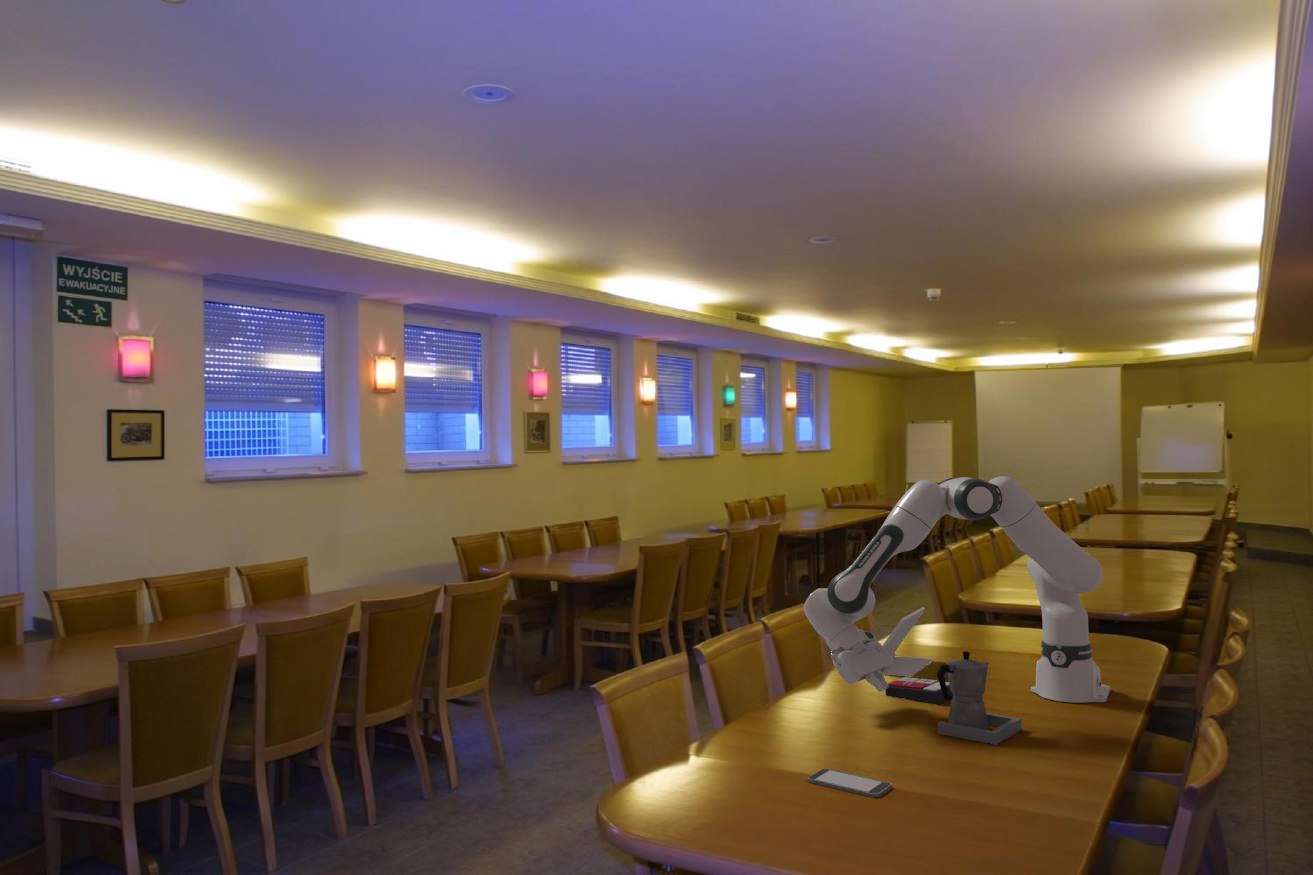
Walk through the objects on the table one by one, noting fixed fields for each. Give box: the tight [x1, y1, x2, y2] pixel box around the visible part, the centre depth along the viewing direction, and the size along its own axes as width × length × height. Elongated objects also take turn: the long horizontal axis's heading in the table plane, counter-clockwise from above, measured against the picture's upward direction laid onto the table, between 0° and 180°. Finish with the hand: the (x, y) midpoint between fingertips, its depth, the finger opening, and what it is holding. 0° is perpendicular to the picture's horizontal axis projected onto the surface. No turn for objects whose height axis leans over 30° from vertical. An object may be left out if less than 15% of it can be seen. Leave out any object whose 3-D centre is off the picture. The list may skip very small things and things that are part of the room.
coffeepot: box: [936, 650, 990, 730], centre depth 211 cm, size 15×9×18 cm, turn 115°
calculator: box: [884, 677, 953, 706], centre depth 241 cm, size 11×4×15 cm
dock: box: [937, 712, 1023, 746], centre depth 209 cm, size 15×14×2 cm
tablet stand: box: [882, 606, 934, 677], centre depth 277 cm, size 18×25×17 cm
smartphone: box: [807, 768, 893, 798], centre depth 176 cm, size 7×1×15 cm
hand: (884, 689), depth 225 cm, fingers closed
